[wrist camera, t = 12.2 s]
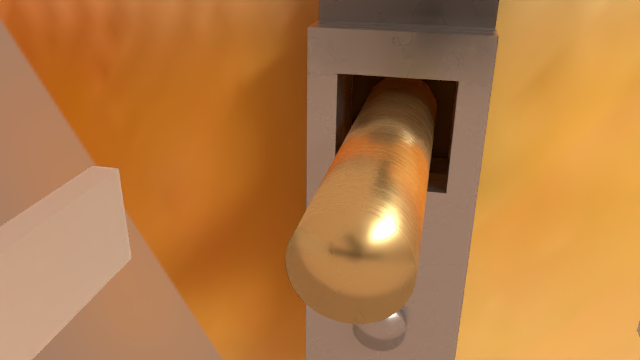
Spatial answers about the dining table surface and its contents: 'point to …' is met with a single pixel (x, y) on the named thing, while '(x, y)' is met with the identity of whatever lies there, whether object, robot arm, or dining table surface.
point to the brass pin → (369, 210)
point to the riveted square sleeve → (444, 174)
